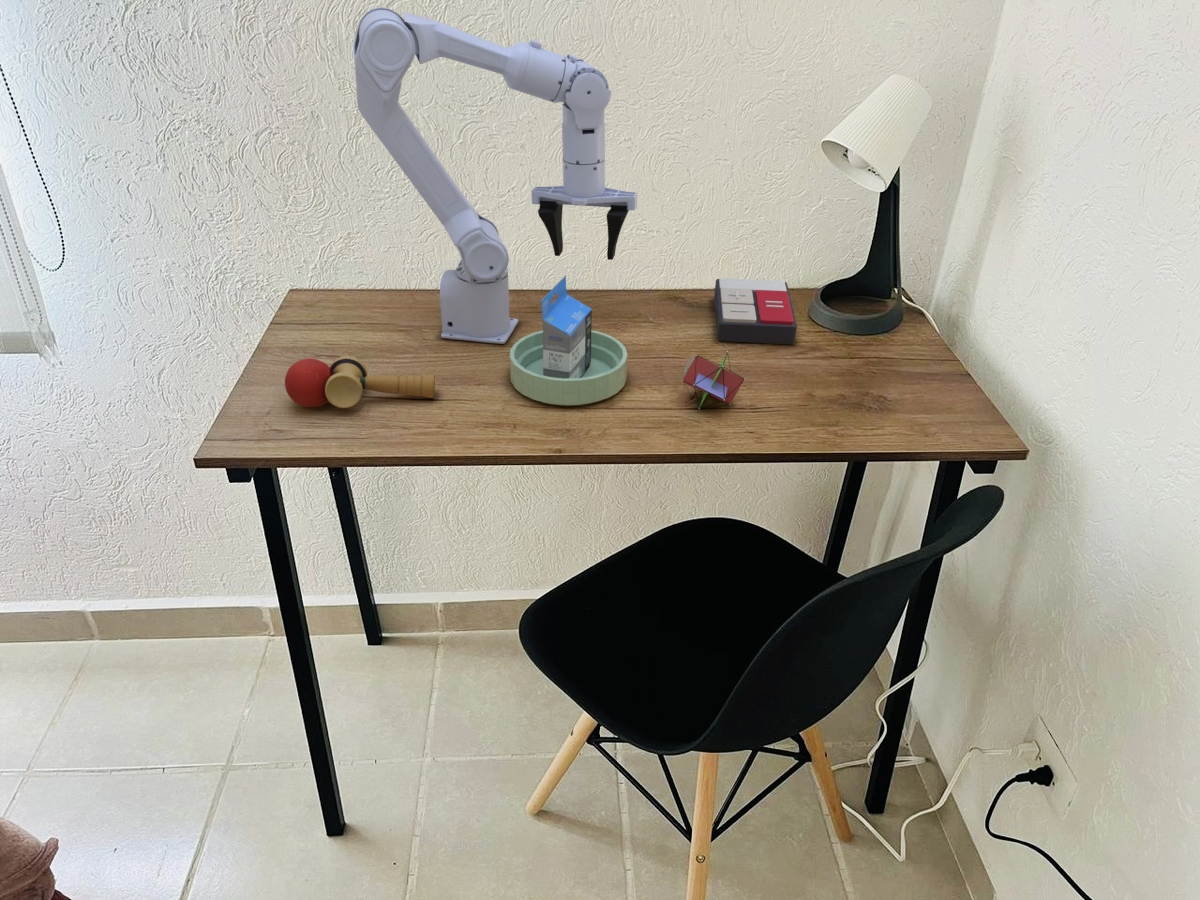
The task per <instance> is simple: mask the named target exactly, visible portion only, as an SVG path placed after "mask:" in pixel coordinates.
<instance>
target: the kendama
mask: <svg viewBox="0 0 1200 900" xmlns="http://www.w3.org/2000/svg"><path fill="white" fill-rule="evenodd" d="M284 377H285V378H284V387H285V391H286V394H287V395H288V397H289V398H290V399H291V400H292V401H293V402H294V403H295V404H297V405H298V406H302V407H305V408H316V407H320V406H323V405H325V404H328V403H330V404H331V405H332V406H334V407H336V408H339V409H349V408H352V407H354V406H356V405H357V404H358V403H360V401H361V399H362V397H363V392H364V390H367V391H373V392H376V393H377V392H378V393H384V394H393V395H402V396H403V395H404V396H414V397H422V398H428V399H434V398H435V391H436V390H435V388H436V375H435V374H423V375H421V374H408V375H405V374H400V375H397V374H396V375H395V374H391V375H390V374H389V375H387V374H385V375H371V376H368V369H367V367H366V365H365V364H364V362H363V361H362V360H361V359H359V358H358V357H355V356H352V355H341V356H338V357H337V358H336V359H334V360H333V361H332V363H331V364H330V366H329V365H328V364H327V363H326V362H324V361H322V360H319V359H318V358H313V357H312V358H311V357H310V358H303V359H300V360H297V361H296V362H294V363H293V364H291V366H290V367H288V369H287V372H286V374H285V376H284Z"/></svg>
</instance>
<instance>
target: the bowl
mask: <svg viewBox="0 0 1200 900" xmlns="http://www.w3.org/2000/svg"><path fill="white" fill-rule="evenodd" d="M628 356H629V355H628V351H627V348H626V346H625V345H624V344H623V343H622V342H621V341H620V340H618V339H617V338H615V337H613V336H612V335H609V334H607V333H604V332H602V331H598V330H592V329H591V365H590V367H589V368H588V369H587V371H586V372H585V373H584V375H583V376H582V377H581V378H555V377H548V376H544V375H543V329H542V330H539V331H536V332H532V333H529V334H527V335H525V336H523V337H521V338H520V339H519V340H517V341H516V342H514V343H513V345H512V347H511V348H510V349H509V368H510V369H509V371H510V372H509V373H510V382H511V384H512V386H513V387H514V389H515V390H517V391H518V392H519V393H520V394H521V395H523V396H525V397H527V398H529V399H531V400H534V401H537V402H540V403H544V404H548V405H554V406H564V407H566V406H568V407H569V406H573V407H574V406H583V405H589V404H594V403H597V402H600V401H604V400H607V399H610V398H611V397H613V396H615V395H616V394H618V393H619V392H620V391H621V390H622V389H623V388H624V387H625V385H626V382H627V380H628Z"/></svg>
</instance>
